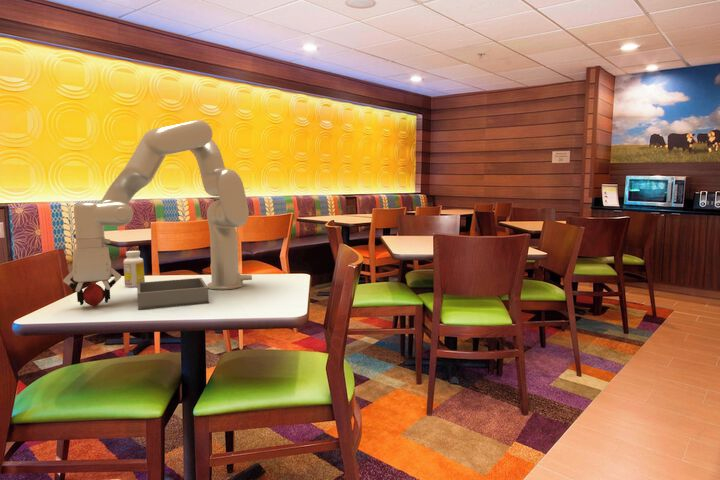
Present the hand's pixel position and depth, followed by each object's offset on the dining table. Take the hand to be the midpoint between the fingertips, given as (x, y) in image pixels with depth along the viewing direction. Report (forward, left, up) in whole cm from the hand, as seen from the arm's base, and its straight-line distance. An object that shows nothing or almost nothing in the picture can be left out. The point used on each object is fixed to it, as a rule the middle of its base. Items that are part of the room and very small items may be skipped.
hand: (94, 302), depth 146 cm
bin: (-22, +1, -1) cm, 22 cm away
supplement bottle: (-11, -30, -2) cm, 32 cm away
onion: (0, 0, -2) cm, 2 cm away
